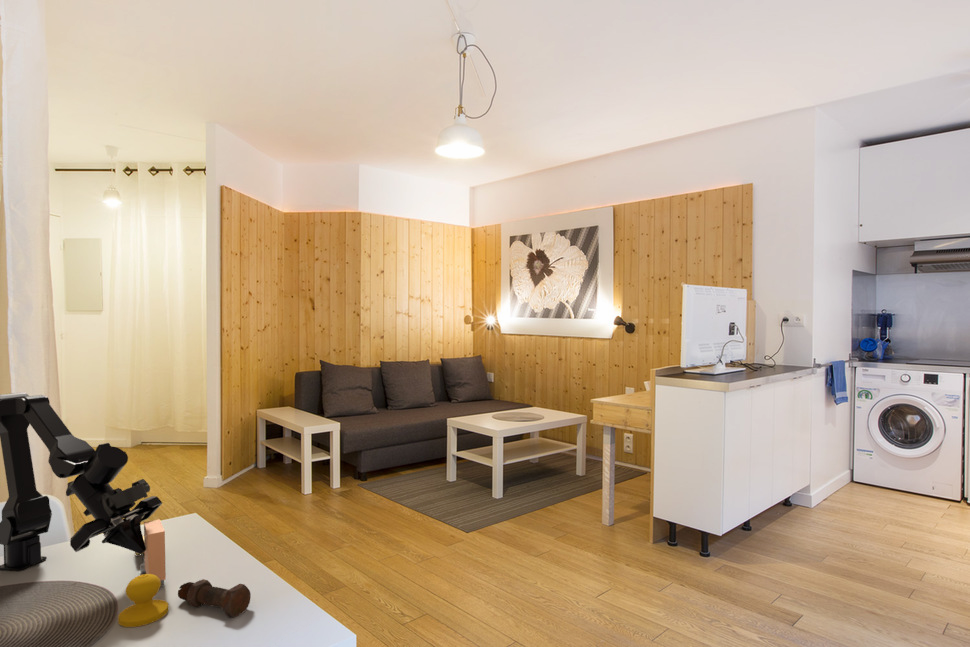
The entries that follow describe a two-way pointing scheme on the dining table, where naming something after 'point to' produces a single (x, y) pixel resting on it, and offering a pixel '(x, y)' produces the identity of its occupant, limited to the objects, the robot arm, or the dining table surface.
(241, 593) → the bolt
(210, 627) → the dining table surface
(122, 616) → the doorknob
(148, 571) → the peach block with bar
